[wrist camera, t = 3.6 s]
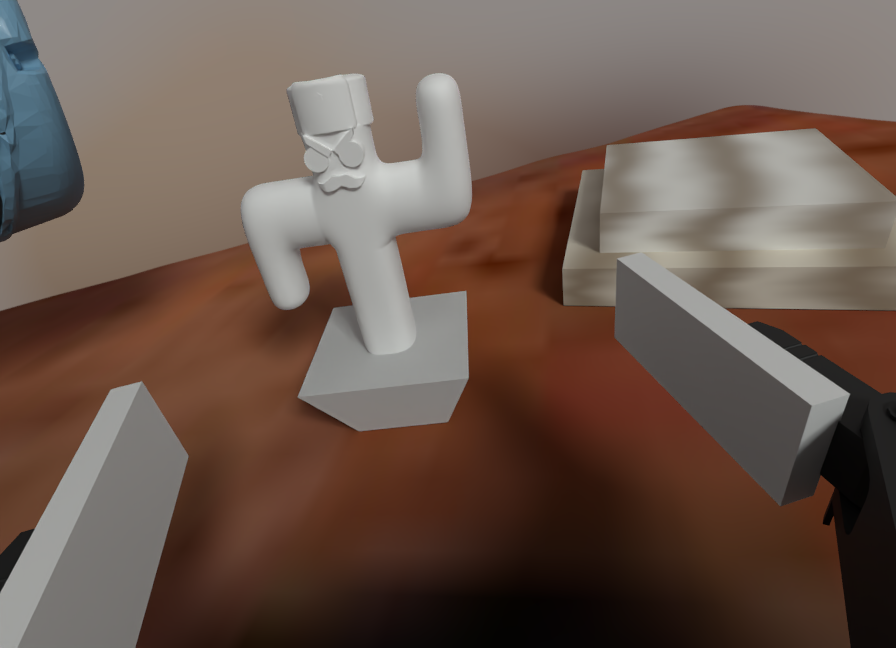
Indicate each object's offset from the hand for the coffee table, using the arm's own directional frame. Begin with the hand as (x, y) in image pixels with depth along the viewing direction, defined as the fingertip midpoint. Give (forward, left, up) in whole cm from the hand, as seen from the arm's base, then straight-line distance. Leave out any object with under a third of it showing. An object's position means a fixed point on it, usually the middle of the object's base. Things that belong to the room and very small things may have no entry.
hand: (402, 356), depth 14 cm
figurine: (-4, +7, -9) cm, 12 cm away
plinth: (+12, +25, -8) cm, 29 cm away
